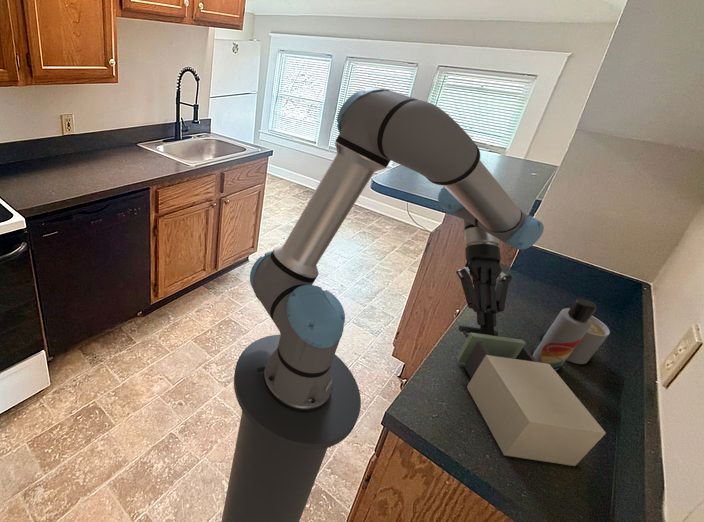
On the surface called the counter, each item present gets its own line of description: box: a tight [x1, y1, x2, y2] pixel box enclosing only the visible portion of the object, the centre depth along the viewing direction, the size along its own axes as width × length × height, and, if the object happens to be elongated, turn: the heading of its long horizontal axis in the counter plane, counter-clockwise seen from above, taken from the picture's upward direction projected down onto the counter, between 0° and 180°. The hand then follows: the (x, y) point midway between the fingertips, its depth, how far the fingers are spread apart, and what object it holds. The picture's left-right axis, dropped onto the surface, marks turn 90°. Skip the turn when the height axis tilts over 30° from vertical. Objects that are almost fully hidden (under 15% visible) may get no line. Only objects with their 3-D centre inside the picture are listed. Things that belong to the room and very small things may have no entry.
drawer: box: [455, 324, 537, 380], centre depth 88 cm, size 21×12×9 cm, turn 175°
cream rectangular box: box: [466, 355, 607, 467], centre depth 78 cm, size 16×14×11 cm
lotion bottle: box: [532, 298, 598, 372], centre depth 92 cm, size 6×6×20 cm
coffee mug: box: [542, 307, 611, 365], centre depth 101 cm, size 13×10×10 cm
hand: (487, 339), depth 92 cm, fingers closed
